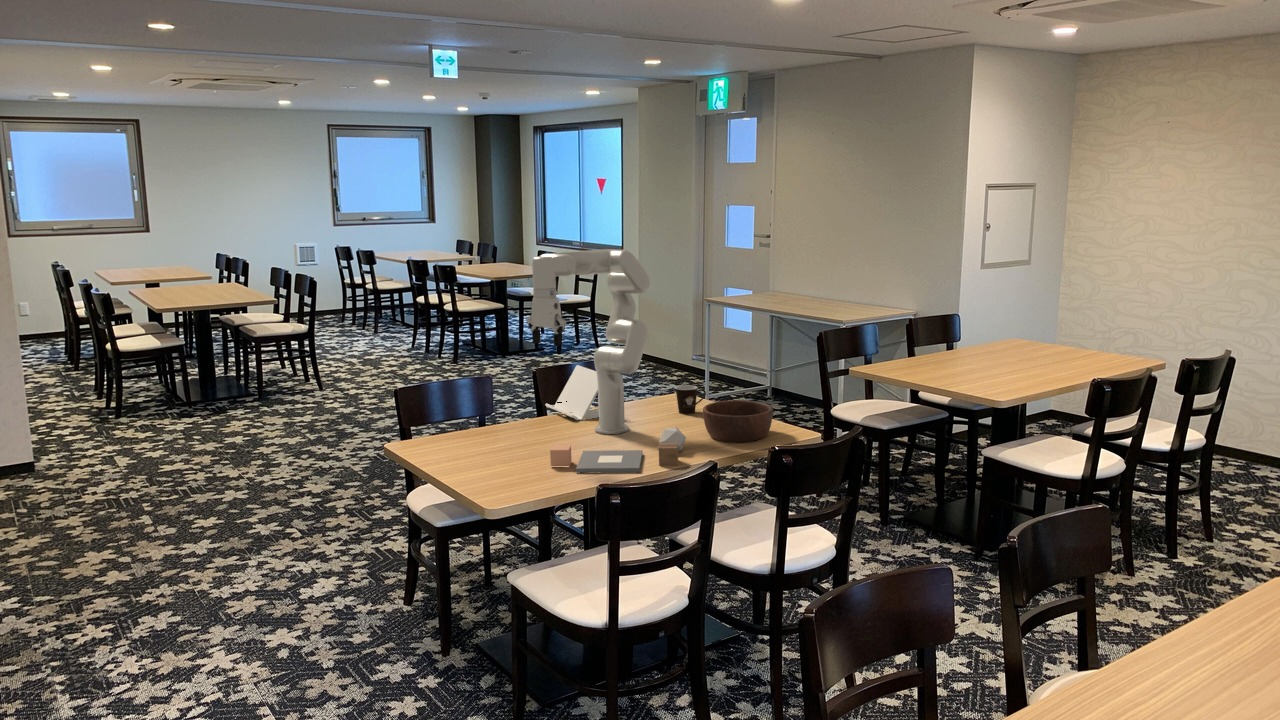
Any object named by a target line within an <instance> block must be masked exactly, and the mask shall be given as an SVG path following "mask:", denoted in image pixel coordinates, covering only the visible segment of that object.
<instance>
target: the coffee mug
mask: <svg viewBox="0 0 1280 720" xmlns="http://www.w3.org/2000/svg"><path fill="white" fill-rule="evenodd" d="M700 392H703V396H702V398H700V399H699V400H698V401H697V395H698V393H700ZM675 393H676V400H677V401H676V403H677V407H678V408H677V409H678V413H679V414H680V415H693V414H695V413H696V406H697V405H699V403H701V402H702V401H703V400H704V399H705V397H706V395H707V392H706V390H704V389H702V388H701V389H700V388H699V389H698V386H696V385H689V384H686V385H685V384H684V385H678V386H676V387H675Z"/></svg>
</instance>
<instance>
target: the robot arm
mask: <svg viewBox="0 0 1280 720" xmlns="http://www.w3.org/2000/svg"><path fill="white" fill-rule="evenodd" d="M531 266H532V267H531V269H532V289H533V292H532V293H533V298H532V301H531V315H529V316H528V317H526V322H527V324H528V325H527V326H528V327H529V329H530V332H531V334H532V344H539V343H541V331H540V328H542V329H543V328H544V329H551V330H552V331H553V333H554V334H553V345H554V346H553V347H558V346H559V347H560V346H562V345H563V343H562V334H563V332H564V330H565V328H566V326H567V321H566V320H565V319H564V318H563V317H562V310H561V304H560V299H559V297H557V295H558V291H557V281H556V280H557V279H556V277H565V278H566V277H569V276H572V275H573V276H574V275H577V276H592V275H601V274H607V277H606V283H607V286H608V289H609V291H610V293H611V296H612V302H613V304H612V309H611V313H610V316H609V319H608V322H607V323H608V324H607V327H606V328H605V329H606V330H605V338H606V340H607V341H609V343H612V344H616V346H615V345H602V346H600V347H598V348H597V349H596V350H595V352H594V353H593V354H594V355H593V364H594V368H595V371H596V373H597V381H598V393H597V399H598V401H597V402H598V404H597V405H598V407H597V408H599V418H598V425H596V426H595V427H594V431H595V432H596V433H598V434H604V435H618V434H624V433H626V432H628V431H629V430H630V426H629V425H628V424H626V423H625V422H626V421H625V419H626V418H625V417H626V416H625V390H624V388H625V387H624V380H623V377H622V375H621V374H624V375H632V374H634V373H635V372H636V371H637V370H638V369H639V366H640V364H641V360H642V358H643V354H644V350H645V346H646V344H647V340H648V328H647V325H646V324H645V322H643V321H642V320H640V319H635V313H636V309H637V307H636V306H637V305H636V303H635V302H636V301H635V300H634V297H633V296H632V294H637V295H638V294H640V295H641V294H644V293H646V292H647V291H648V290H649V288H650V282H651V281H650V276H649V274H648V272H647V270H646V269H645V268H644V267H643V266H642V264H641V262H640V261H639V259H638V258H636V256H635V255H634V254H633V253H632V252H631V251H629V250H627V249H611V248H610V249H608V248H607V249H606V248H605V249H604V248H603V249H592V250H589V249H588V250H578V251H577V250H576V251H568V252H567V251H566V252H565V251H564V252H550V253H549V252H548V253H543V254H541V255H539V256H534V257H533V258H532V260H531ZM618 345H624V346H618Z"/></svg>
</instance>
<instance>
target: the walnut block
mask: <svg viewBox="0 0 1280 720" xmlns="http://www.w3.org/2000/svg"><path fill="white" fill-rule="evenodd" d="M678 465H679V451H678V443H659V442H658V467H664V466H665V467H672V466H673V467H676V466H677V467H678Z"/></svg>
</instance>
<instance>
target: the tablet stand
mask: <svg viewBox="0 0 1280 720" xmlns="http://www.w3.org/2000/svg"><path fill="white" fill-rule="evenodd" d="M597 396H598V381H597V373H596V370H593V369H590V368H588V367H584V366H581V365H579V364H577V365H576V366H575V368H574V369H573V371H572V373H571V375H570V376H569V378H568V380H567V382H566V384H565V386H564V387H563V389H562V391H561V393H560V395H559V396H558V398H557V399H556V402H555V404H554V406H553V405H552V404H549V403H545V405H544V406H546V407H548V408H549V409H550V410H551V409H552V410H554V411H555V412H558V413H560V414H563V415H564V414H565V413H567V414H565V415H564V416H567V417H569V418H571V419H573V418H574V420H576V421H578V420H583V421H585V420H584V419H589V420H593V419H592V418H595V419H599V418H598V417H599V407H597V406H594V405H592V404H593V402H594V401H595V399H596V397H597ZM566 401H567V402H566ZM557 402H562V403H557ZM592 408H598V409H594V410H589V409H592ZM597 410H598V411H597ZM569 412H573V413H569Z"/></svg>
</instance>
